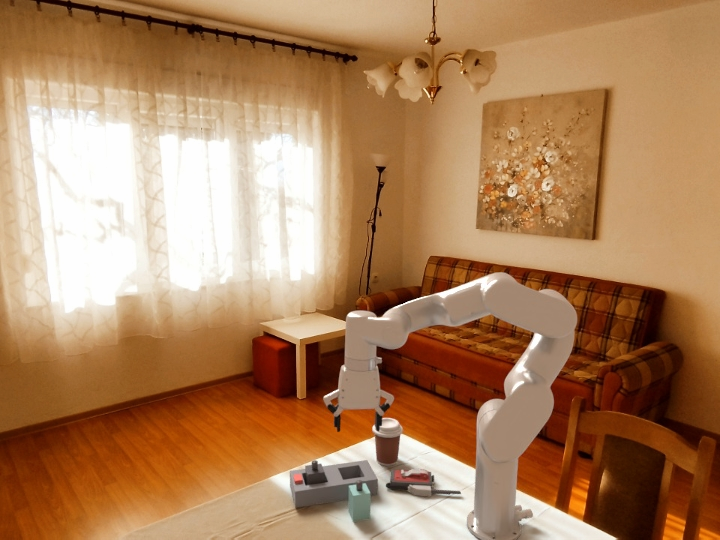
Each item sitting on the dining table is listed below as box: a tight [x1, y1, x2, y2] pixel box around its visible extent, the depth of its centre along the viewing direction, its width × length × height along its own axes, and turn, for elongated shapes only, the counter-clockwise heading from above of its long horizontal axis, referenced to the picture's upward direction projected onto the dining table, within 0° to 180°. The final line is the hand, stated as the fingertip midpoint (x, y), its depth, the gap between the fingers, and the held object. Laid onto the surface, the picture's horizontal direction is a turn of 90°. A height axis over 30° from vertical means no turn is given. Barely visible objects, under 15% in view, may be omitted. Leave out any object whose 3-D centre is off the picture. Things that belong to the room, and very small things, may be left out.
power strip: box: [289, 459, 379, 509], centre depth 137 cm, size 22×10×9 cm, turn 105°
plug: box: [348, 480, 371, 523], centre depth 127 cm, size 4×4×9 cm
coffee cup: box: [371, 417, 404, 467], centre depth 152 cm, size 9×9×12 cm
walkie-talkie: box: [385, 468, 462, 498], centre depth 139 cm, size 9×4×20 cm
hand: (357, 429), depth 125 cm, fingers open, 9 cm apart
